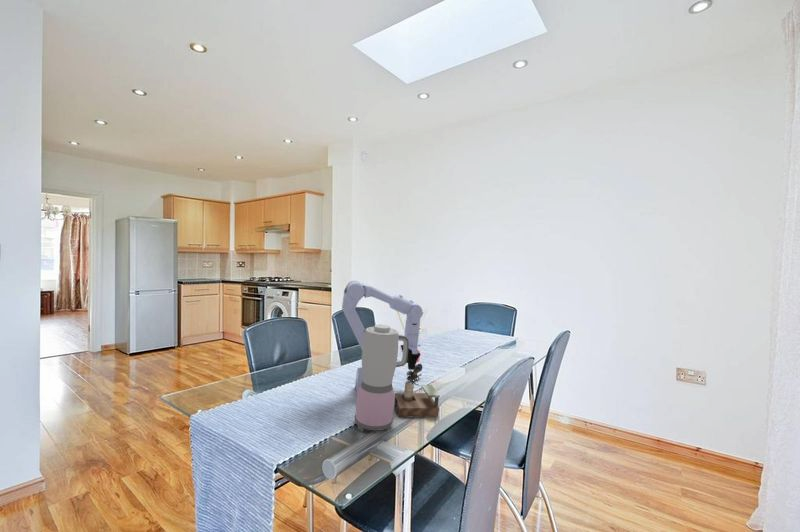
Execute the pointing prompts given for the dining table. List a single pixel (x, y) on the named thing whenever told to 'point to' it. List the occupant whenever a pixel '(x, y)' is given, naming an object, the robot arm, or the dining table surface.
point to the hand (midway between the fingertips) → (408, 366)
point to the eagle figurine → (415, 371)
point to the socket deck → (419, 403)
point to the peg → (408, 392)
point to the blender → (379, 377)
